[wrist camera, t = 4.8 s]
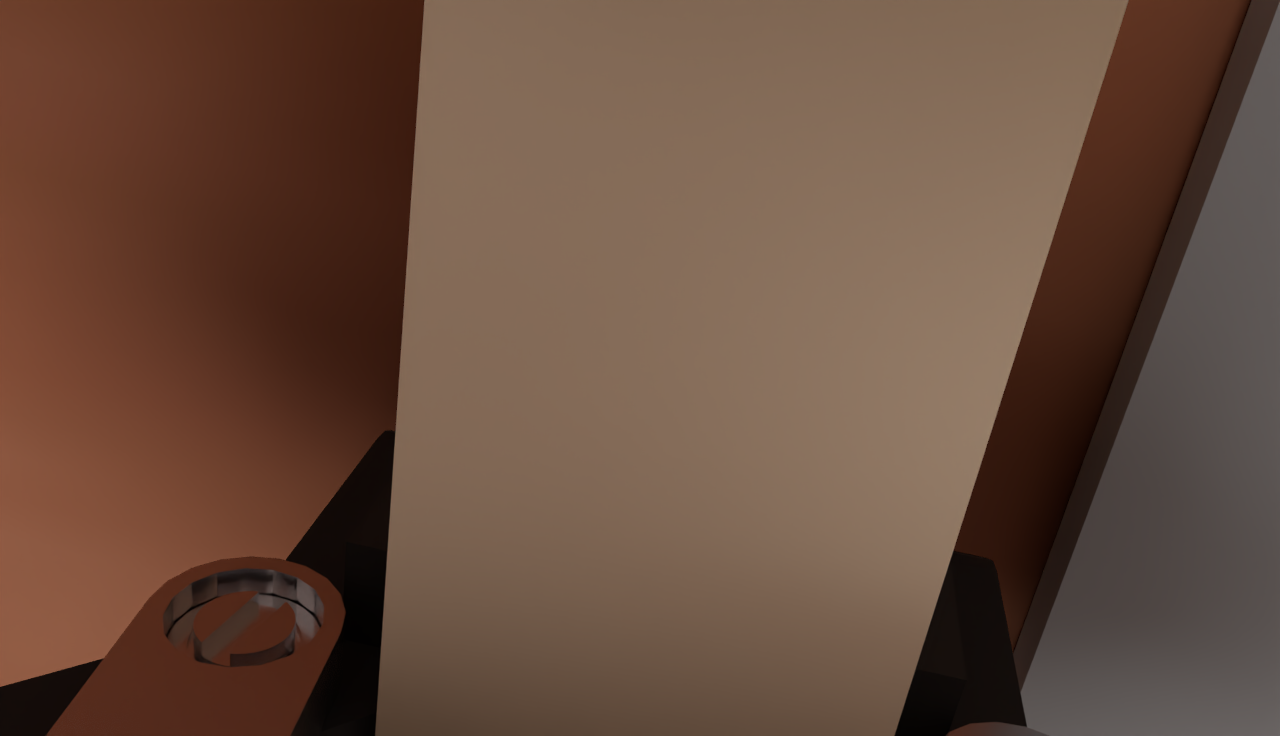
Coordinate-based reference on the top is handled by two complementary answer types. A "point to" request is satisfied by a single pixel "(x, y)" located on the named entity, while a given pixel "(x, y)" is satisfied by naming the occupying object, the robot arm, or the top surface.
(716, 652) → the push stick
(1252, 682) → the mat
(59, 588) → the top surface
